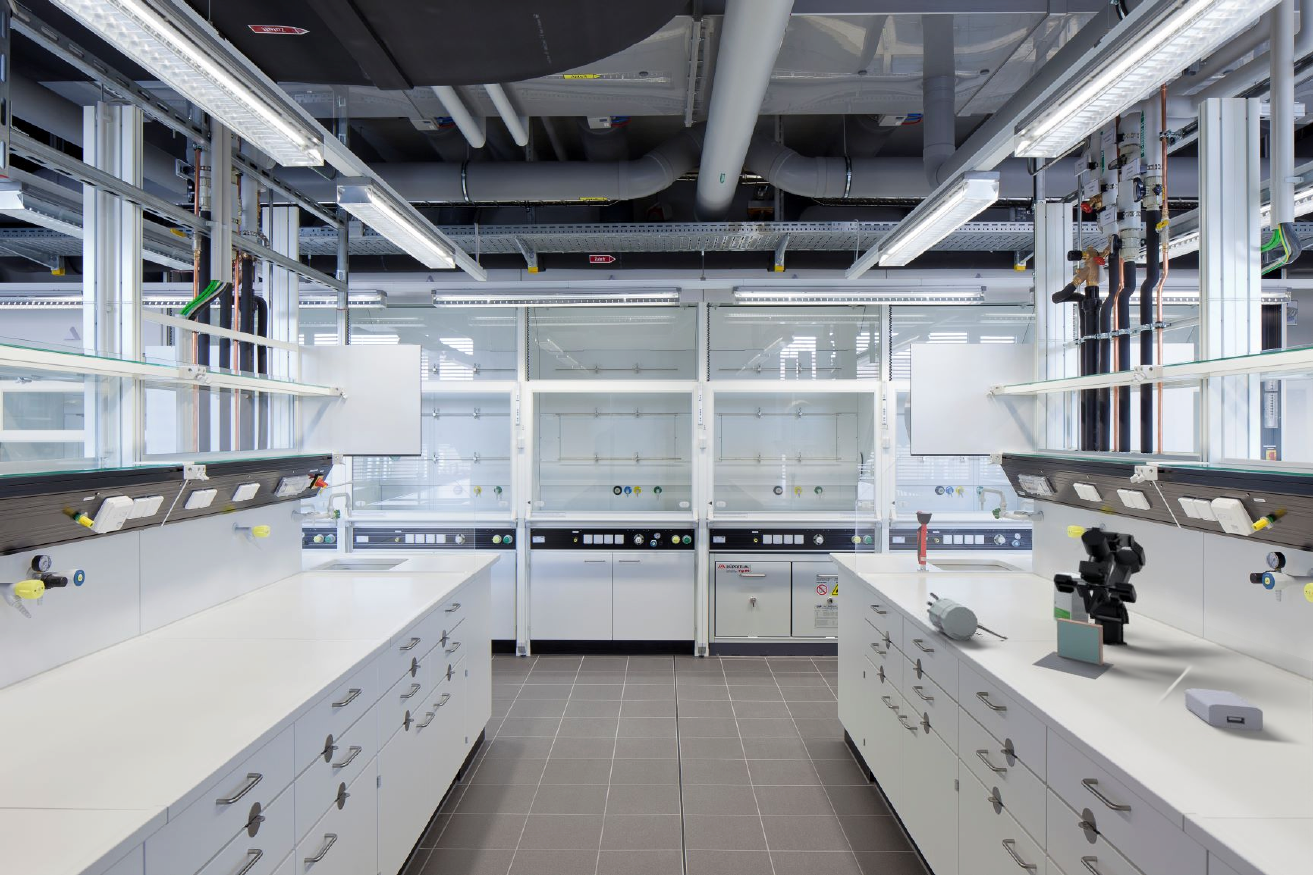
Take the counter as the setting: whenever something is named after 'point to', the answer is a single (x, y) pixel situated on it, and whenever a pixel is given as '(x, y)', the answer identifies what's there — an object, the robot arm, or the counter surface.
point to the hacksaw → (990, 632)
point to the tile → (1080, 641)
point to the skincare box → (1069, 603)
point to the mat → (1072, 666)
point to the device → (952, 618)
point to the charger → (1223, 709)
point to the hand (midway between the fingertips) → (1087, 612)
